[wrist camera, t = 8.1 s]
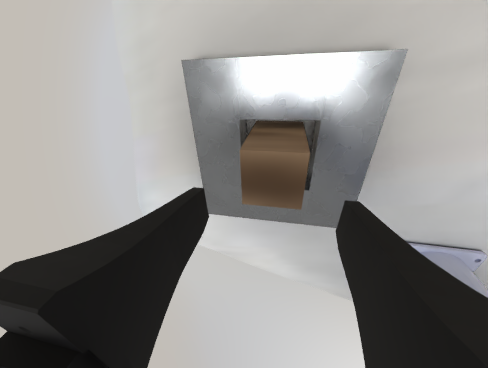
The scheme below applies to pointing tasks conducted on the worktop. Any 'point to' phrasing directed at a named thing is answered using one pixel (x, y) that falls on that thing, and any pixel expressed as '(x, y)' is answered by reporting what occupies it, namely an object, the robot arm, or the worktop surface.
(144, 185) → the worktop surface
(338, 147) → the socket plate
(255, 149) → the block
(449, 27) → the worktop surface
